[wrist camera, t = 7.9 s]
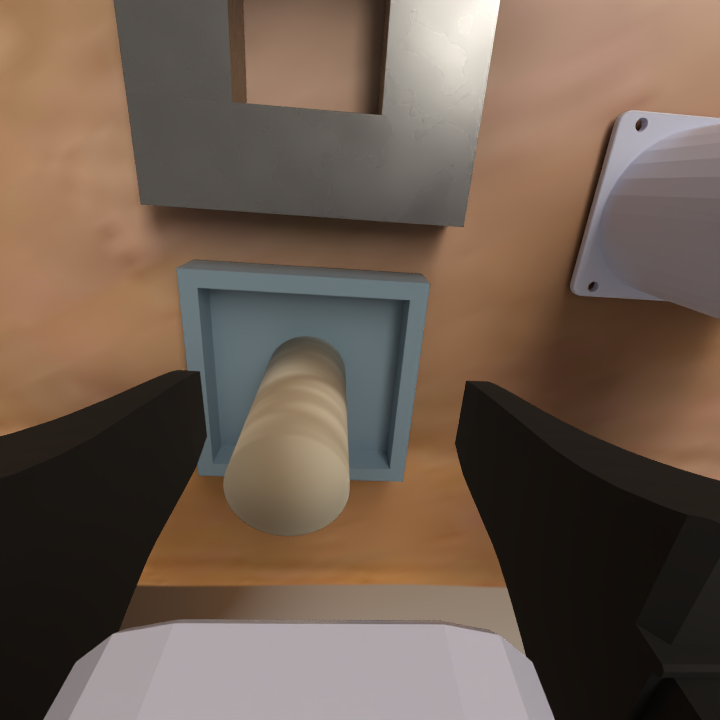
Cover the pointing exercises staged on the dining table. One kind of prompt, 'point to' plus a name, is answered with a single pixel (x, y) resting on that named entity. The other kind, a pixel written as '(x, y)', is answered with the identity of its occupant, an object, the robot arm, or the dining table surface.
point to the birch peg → (293, 443)
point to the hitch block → (306, 117)
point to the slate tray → (306, 318)
